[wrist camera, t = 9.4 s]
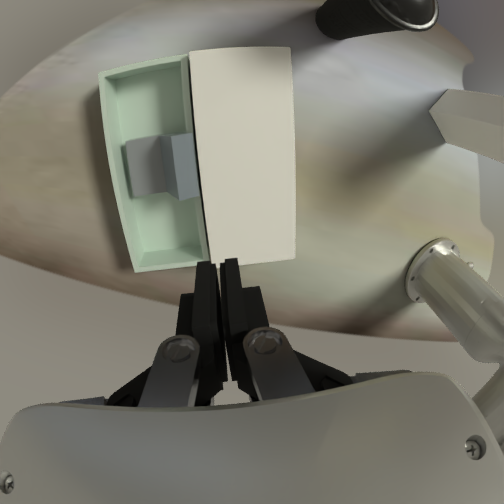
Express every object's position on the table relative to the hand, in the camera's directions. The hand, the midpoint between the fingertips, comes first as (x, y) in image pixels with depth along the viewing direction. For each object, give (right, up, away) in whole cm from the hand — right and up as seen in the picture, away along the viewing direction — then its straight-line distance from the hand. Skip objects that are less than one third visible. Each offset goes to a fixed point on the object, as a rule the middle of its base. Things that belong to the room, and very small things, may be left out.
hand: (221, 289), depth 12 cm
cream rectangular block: (0, +12, +18) cm, 22 cm away
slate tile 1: (-5, +10, +14) cm, 18 cm away
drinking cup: (+11, +28, +11) cm, 32 cm away
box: (-9, +11, +17) cm, 22 cm away
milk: (+29, +21, +18) cm, 40 cm away
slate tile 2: (-9, +10, +15) cm, 20 cm away
